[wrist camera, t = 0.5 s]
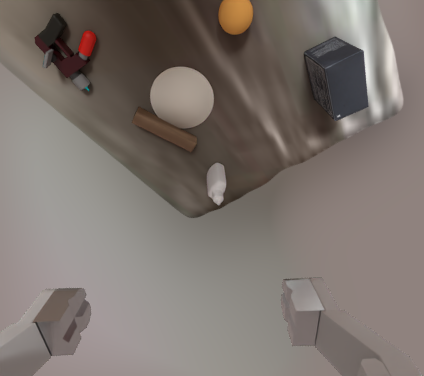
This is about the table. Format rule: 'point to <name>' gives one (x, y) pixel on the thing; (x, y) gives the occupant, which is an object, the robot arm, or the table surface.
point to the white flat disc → (182, 97)
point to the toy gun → (65, 51)
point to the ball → (235, 15)
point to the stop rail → (164, 129)
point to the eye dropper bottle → (216, 182)
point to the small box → (337, 77)
